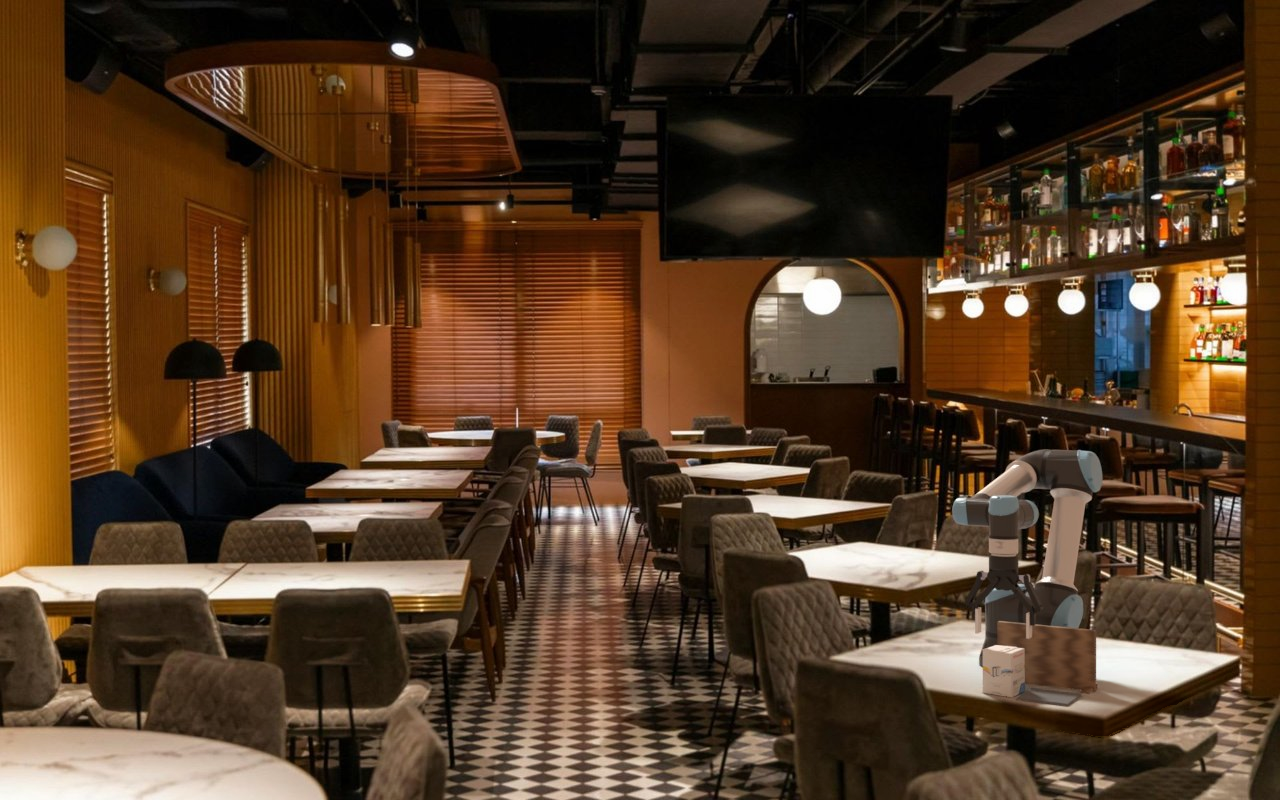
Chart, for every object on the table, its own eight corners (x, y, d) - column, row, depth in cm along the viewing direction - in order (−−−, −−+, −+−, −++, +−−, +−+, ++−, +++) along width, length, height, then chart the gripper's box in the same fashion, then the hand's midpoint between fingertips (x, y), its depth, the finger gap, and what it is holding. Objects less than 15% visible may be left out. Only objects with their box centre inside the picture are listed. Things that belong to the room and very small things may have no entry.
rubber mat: (1016, 699, 354) (1016, 697, 354) (1031, 689, 365) (1031, 687, 365) (1067, 706, 347) (1067, 703, 347) (1081, 695, 358) (1081, 693, 358)
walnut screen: (994, 682, 374) (994, 623, 374) (1002, 677, 380) (1002, 619, 380) (1091, 693, 360) (1091, 632, 360) (1098, 688, 366) (1098, 628, 366)
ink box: (995, 687, 368) (995, 643, 368) (1025, 691, 363) (1025, 647, 363) (981, 693, 362) (981, 648, 361) (1011, 697, 356) (1011, 652, 356)
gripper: (952, 552, 365) (952, 632, 366) (1046, 559, 352) (1046, 642, 352) (962, 549, 372) (962, 628, 372) (1055, 556, 358) (1055, 637, 358)
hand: (1003, 635), depth 362 cm, fingers open, 13 cm apart
